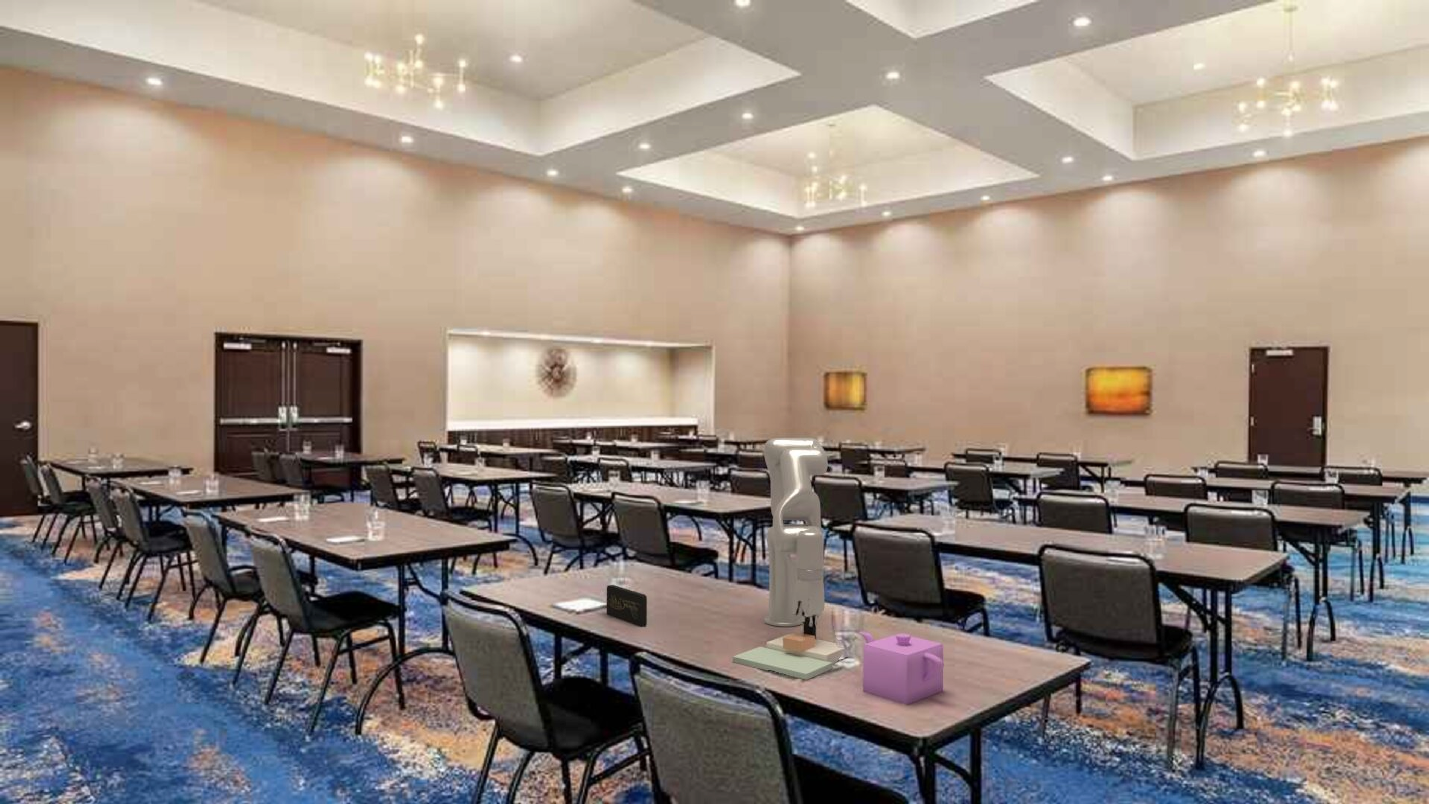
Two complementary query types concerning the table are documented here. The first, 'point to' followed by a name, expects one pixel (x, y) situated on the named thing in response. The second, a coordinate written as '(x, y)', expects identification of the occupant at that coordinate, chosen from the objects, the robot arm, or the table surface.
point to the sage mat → (783, 662)
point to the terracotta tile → (799, 642)
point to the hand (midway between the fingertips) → (809, 639)
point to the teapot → (902, 667)
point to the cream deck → (811, 650)
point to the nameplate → (627, 605)
